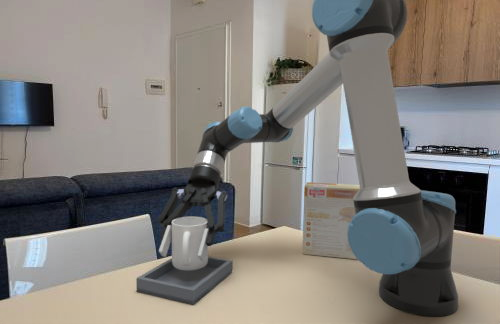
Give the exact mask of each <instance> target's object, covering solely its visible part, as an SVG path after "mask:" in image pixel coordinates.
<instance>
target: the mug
mask: <svg viewBox="0 0 500 324" xmlns="http://www.w3.org/2000/svg"><path fill="white" fill-rule="evenodd" d="M205 228H207V229H209V227H208V221H207V217H203V216H192V215H191V216H182V217H180V218H176V219H174V220H172V239H171V258H172V264H173V266H174V267H175V268H177V269H179V270H185V271H191V270H198V269H201V268H203V267H205V266H206V265H207V263H208V256H209V246H208V247H207V251H206V255H205V259H204V261H200V259H199V257H198V252H199V248H200V245H201V241H202V237H203V234H204V230H205Z"/></svg>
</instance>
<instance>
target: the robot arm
mask: <svg viewBox="0 0 500 324" xmlns="http://www.w3.org/2000/svg"><path fill="white" fill-rule="evenodd" d="M311 8H312V9H311V17H312V21H313V23H314V26H315V27H316V29H318V31H319V32H320V33H321V34H322V35H324V36H326V39H327V40H326V41H327V43H328V44H327V45H328V53H327V54H326V55H325V56H324V57H323V58H322V59H321V60H320V61H319V62H318V63H317V64H316V65H315V66H314V67H313V68H312V69H311V70H310V71H309V72H308V73H307V74H306V75H305V76H304V77H303V78H302V79H301V80H300V81H299V82H298V83H296V85H295V86H293V88H291V90H290V91H288V93H287V94H286V95H285V96H283V97H282V98H281V99H280V100H279V101H278V102H277V104H276V105H274V106H273V107H272V108H271V109H270V110H269V111H268V112H267V113H264V114H262V113H259V112H258V111H257V110H256V109H253V108H252V107H251V106H242V107H240V108H239V109H237V110H235V111H233V112H232V113H231V114H230V115H228V116H227V117H226V118H224V119H223V120H222V121H214V122H210V123H209V124H207V125H206V128H205V130H204V132H203V135H202V139H201V142H200V144H199V148H198V151H197V154H196V156H195V160H194V162H193V165H192V169H191V170H190V174H189V177H188V180H187V184H186V186H184V188H181V189H180V188H178V187H176V186H175V187H173V188H172V191H171V196H170V197H169V199H168V201H167V202H166V204H165V207H163V209H162V211H161V212H160V214H159V217H158V218H157V222H158V223H159V225H160V226H161V228H162V230H161V232H160V237H159V238H160V240H161V243H160V246H159V249H158V253H159V254H160V256H161V257H162V258H166V257H167V254H168V251H169V249H170V246H171V245H170V244H171V243H172V220H174V219H176V218H180V217H184V215H185V214H186V213H187V212H188V210H191V209H192V207H202V208H203V207H204V211H205V216H206V219H207V221H208V229H207V228H205V230H204V234H203V237H202V241H201V245H200V248H199V252H198V257H199V259H200V261H204V259H205V255H206V251H207V247H208V248H209V247H211V246H212V245H213V243H214V239H215V237H216V236H215V235H216V234H217V233H219V232H220V233H223V232H225V229H226V228H225V226H226V221H225V219H226V204H227V202H228V199H229V196H228V194H227V191H226V190H222V191H219V190H218V188H219V184H220V181H221V176H222V173H223V171H224V170H223V169H224V165H225V162H226V158H227V155H228V154H229V153H230V152H231V151H234V149H236V148H238V147H239V146H241V145H242V144H255V143H256V144H258V143H280V142H285V141H287V140H289V139H290V138H291V136H292V134H293V131H294V127H295V126H296V125H298V123H299V122H301V121H302V120H303V119H304V118H305V117H307V116H308V115H309V114H310V113H311V112H312V111H313V110H314V109H315V108H317V107H318V106H319V105H320V104H322V103H323V101H325V100H326V99H327V98H328V97H329V96H330V95H332V94H333V93H335V91H336V90H337V89H338V88H339V87H341V86H342V85H343V92H344V96H345V103H346V108H347V116H348V121H349V122H348V123H349V128H350V134H351V141H352V147H353V153H354V159H355V165H356V172H357V179H358V185H360V188H359V191H358V192H357V193H356V195H355V196H354V197H353V201H354V207H355V213H356V214H355V215H354V217H353V218H352V221H351V222H350V223H349V226H348V231H347V236H348V242H349V245H350V248H351V250H352V252H353V254H354V255H355V257H356V258H357V260H358V261H359V262H360V263H362V264H363V265H364V266H365V267H366V268H367V269H369V270H370V271H372V272H375V273H378V274H382V275H381V277H380V279H379V283H378V284H379V285H378V294H379V297H381V299H382V300H383V301H384V302H385V303H386V304H388V305H390V306H392V307H393V308H395V309H396V308H397V309H398V310H401V311H403V312H406V313H410V314H413V315H414V314H415V315H419V316H427V317H444V316H449V315H453V314H454V313H455V312H456V311H457V310H458V307H459V305H458V304H459V294H458V290H457V288H456V287H457V286H456V283H455V280H454V277H453V274H452V267H451V266H452V252H453V244H454V243H453V242H454V233H455V232H454V230H455V229H454V228H455V220H456V219H455V217H456V214H457V209H456V199H455V198H454V197H453V195H451V194H449V193H443V192H438V191H437V192H436V191H430V190H429V191H428V190H423V189H420V188H419V187H417V186H416V185H415V184H413V183H412V182H411V181H410V178H409V172H408V170H409V169H408V166H407V159H406V158H407V157H406V153H405V147H404V142H403V136H402V129H401V123H400V118H399V111H398V107H397V106H398V105H397V99H396V94H395V89H394V82H393V78H392V77H393V75H392V71H391V65H390V59H389V52H388V51H389V49H390V48H392V47H393V45H394V44H395V43H396V42H397V41H398V40H399V38H400V37H401V36H402V34H403V33H404V31H405V28H406V24H407V22H408V15H409V14H408V6H407V2H406V0H313V3H312V7H311ZM183 196H184V197H183ZM182 197H183V198H182ZM216 198H217V219H216V222H217V223H215V219H214V215H213V210H212V205H211V202H213V200H215V199H216ZM181 199H182V200H181ZM180 200H181V202H180Z"/></svg>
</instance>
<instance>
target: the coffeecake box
mask: <svg viewBox="0 0 500 324" xmlns="http://www.w3.org/2000/svg"><path fill="white" fill-rule="evenodd" d="M303 188H304V190H303V193H304V194H303V195H304V196H303V225H302V227H303V228H302V229H303V230H302V255H307V256H309V255H310V256H320V257H329V258H330V257H331V258H339V259H346V260H347V259H348V260H356V261H357V260H358V259H357V258H356V257H355V255H354V254H353V252H352V250H351V248H350V245H349V242H348V236H347V231H348V226H349V223H350V222H351V221H352V218H353V217H354V215H355V214H356V213H355V207H354V201H353V197H354V196H355V195H356V193H357V192H358V191H359V188H360V185H359V184H354V183H353V184H351V183H349V184H348V183H330V182H329V183H327V182H326V183H325V182H306V184H305V185H304V187H303Z"/></svg>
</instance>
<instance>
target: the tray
mask: <svg viewBox="0 0 500 324" xmlns="http://www.w3.org/2000/svg"><path fill="white" fill-rule="evenodd" d="M233 264H234V263H233V260H231V259H227V258H221V257H216V256H210V255H208V263H207V265H206V266H205V267H203V268H201V269H198V270H191V271H185V270H179V269H177V268H175V267H174V266H173V264H172V257H171V258H170V259H167V260H166V261H164V262H163V263H161V264H159V265H157V266H155V267H153V268H151V269H150V270H148V271H146V272H145V273H142V274H141V275H139V276H138V277H136V278H135V279H136V281H135V282H136V283H135V284H136V292H137V293H141V294H146V295H149V296H153V297H157V298H161V299H167V300H170V301H174V302H179V303H183V304H188V305H192V306H195V304H196V303H198V302H199V301H200V300H201V299H202V298H203V297H205V296H206V295H207V294H209V292H211V291H212V290H213V289H214V288H215V287H217V286H218V285H219V284H220V283H222V282H223V281H224V280H225V279H226V278H227V277H229V276H230V275H231V274H232V273H233Z"/></svg>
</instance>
